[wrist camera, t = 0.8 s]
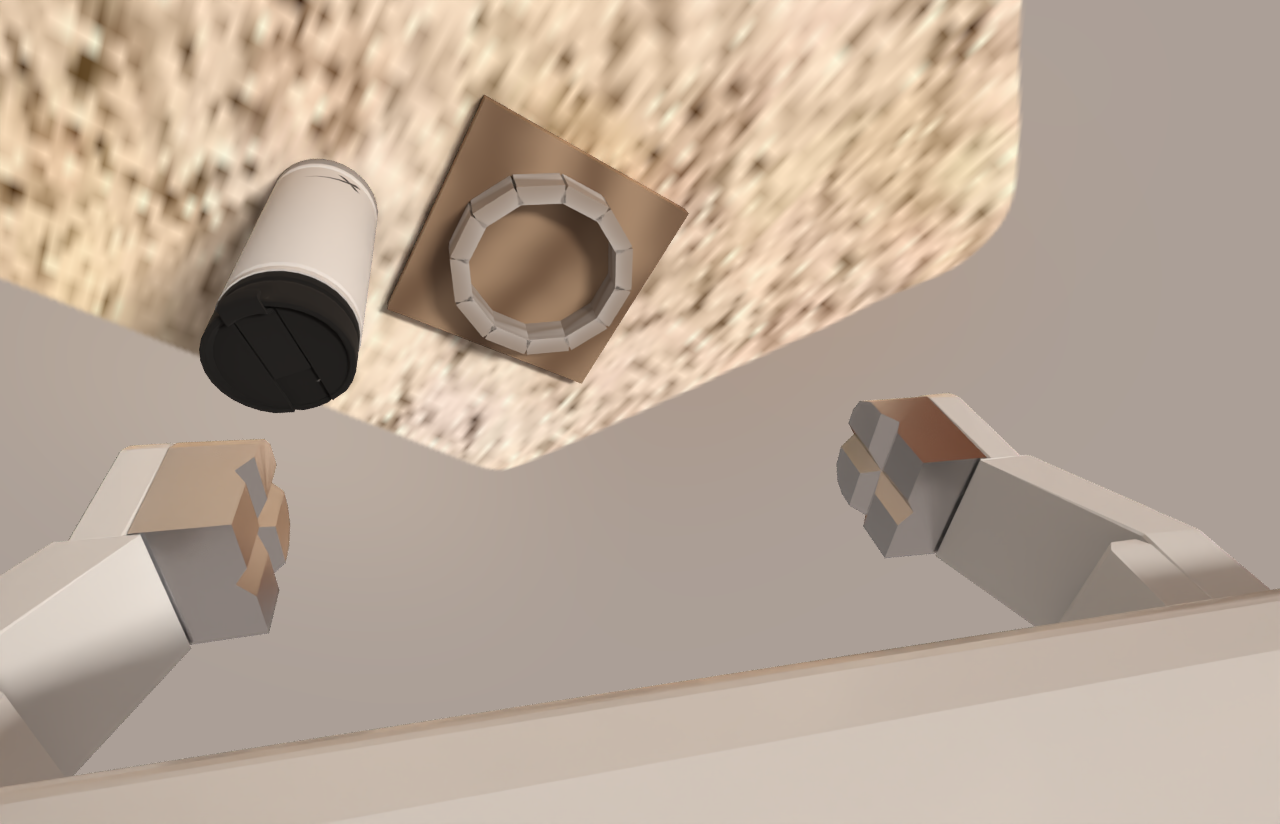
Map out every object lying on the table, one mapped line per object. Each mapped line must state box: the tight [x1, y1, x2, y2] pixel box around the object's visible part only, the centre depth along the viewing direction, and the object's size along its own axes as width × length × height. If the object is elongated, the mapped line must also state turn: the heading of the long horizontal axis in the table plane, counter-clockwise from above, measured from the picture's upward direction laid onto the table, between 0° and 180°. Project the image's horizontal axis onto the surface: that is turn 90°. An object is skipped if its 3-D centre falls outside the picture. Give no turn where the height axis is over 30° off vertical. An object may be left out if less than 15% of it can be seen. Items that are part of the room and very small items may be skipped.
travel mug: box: [199, 159, 378, 413], centre depth 38 cm, size 6×7×20 cm
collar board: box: [387, 95, 689, 384], centre depth 50 cm, size 16×16×4 cm
